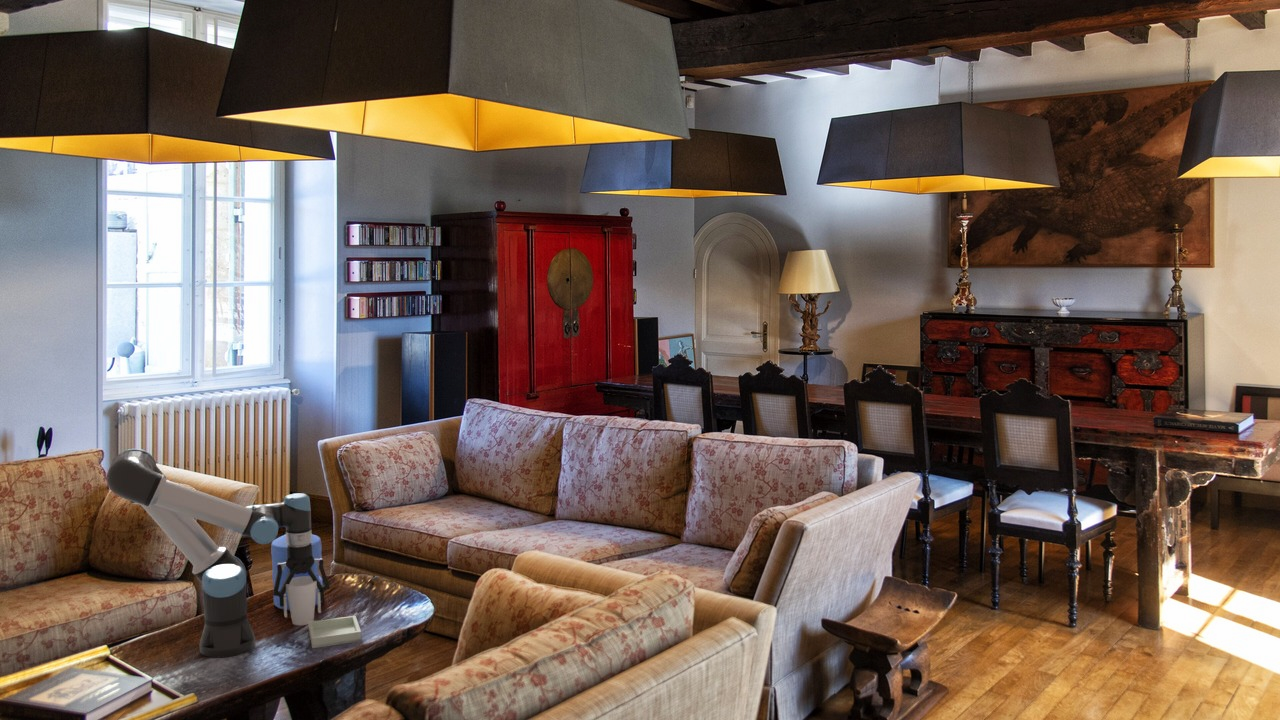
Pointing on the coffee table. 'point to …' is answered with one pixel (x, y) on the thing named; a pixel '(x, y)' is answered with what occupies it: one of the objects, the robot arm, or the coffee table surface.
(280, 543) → the water jug
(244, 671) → the coffee table surface
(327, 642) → the tray
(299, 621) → the foam cup
